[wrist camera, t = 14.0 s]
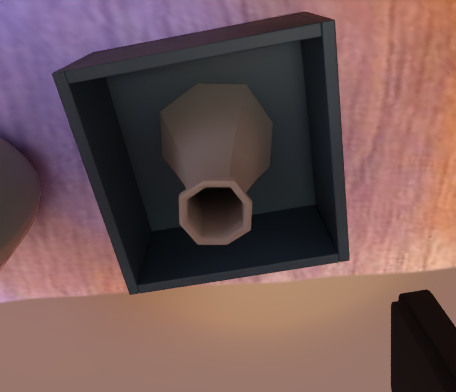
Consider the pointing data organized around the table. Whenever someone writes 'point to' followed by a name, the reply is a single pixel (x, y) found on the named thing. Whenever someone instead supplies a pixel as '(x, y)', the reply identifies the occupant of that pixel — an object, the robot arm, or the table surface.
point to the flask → (216, 157)
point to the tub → (172, 185)
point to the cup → (16, 198)
